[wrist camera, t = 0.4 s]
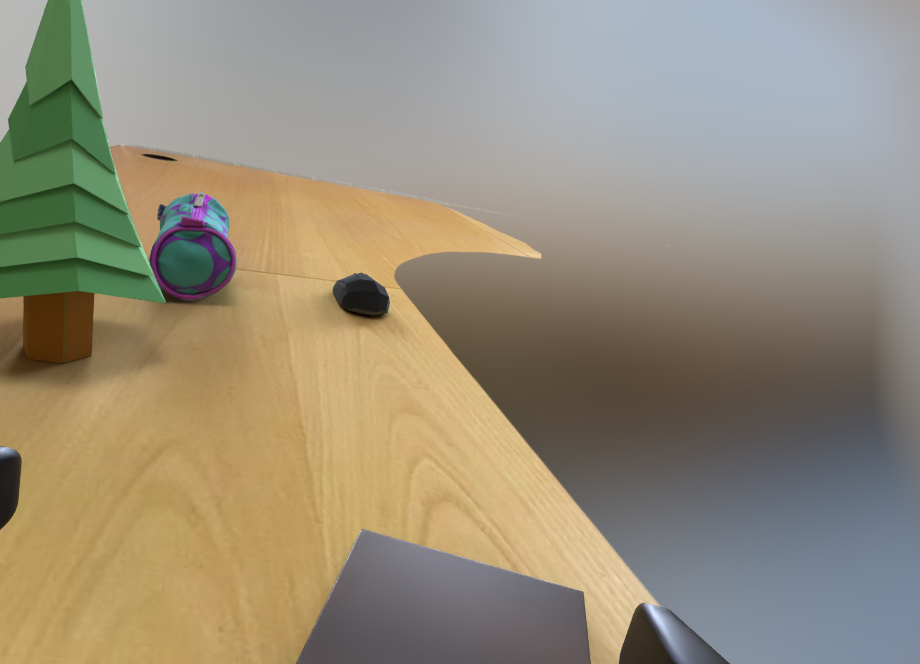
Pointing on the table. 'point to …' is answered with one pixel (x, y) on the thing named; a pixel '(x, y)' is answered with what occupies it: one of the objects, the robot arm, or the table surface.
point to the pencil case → (193, 248)
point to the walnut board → (442, 612)
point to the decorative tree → (64, 198)
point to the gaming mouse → (362, 295)
